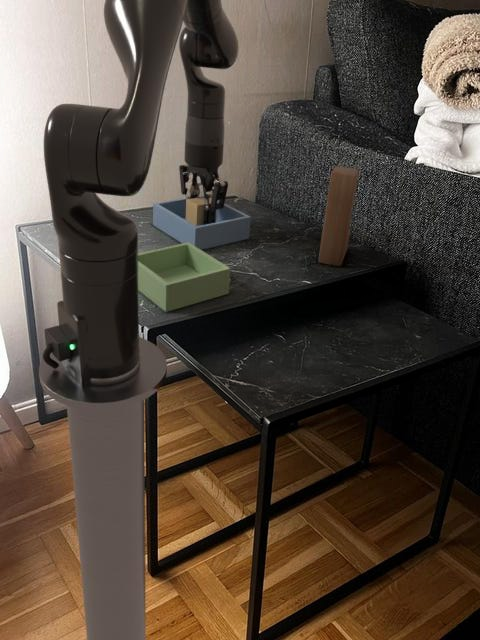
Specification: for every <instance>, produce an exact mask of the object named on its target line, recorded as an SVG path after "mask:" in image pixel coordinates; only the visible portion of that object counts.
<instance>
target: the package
mask: <svg viewBox="0 0 480 640" xmlns="http://www.w3.org/2000/svg"><path fill="white" fill-rule="evenodd" d="M211 200H212V199H211V198H209V203H210V204H211ZM205 210H206V209H205V204H204V200H203V199H202V198H201V197H198V198H192V199H187V200H186V221H188V222H190V223H192V224H193V225H195V226H201V225H204V212H205ZM216 218H217V210H216ZM216 218H215V223H216Z"/></svg>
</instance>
